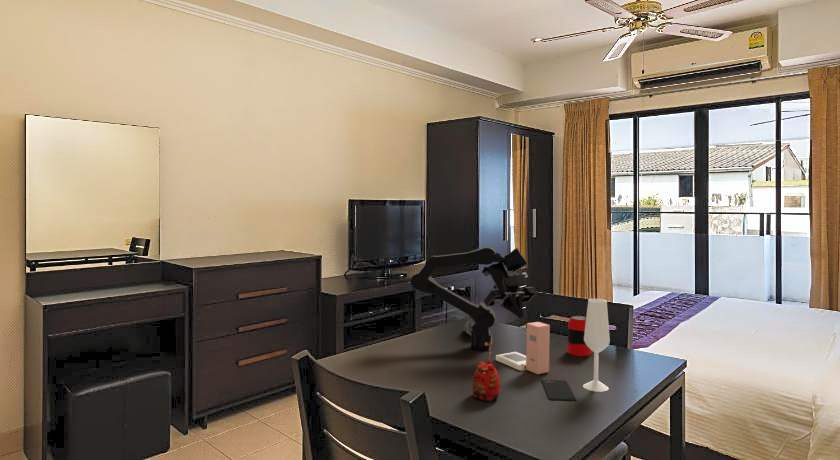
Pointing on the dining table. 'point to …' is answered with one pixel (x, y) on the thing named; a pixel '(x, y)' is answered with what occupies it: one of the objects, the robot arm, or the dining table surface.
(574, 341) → the soda can
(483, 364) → the red clay folk toy
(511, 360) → the pad
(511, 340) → the dining table surface
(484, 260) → the robot arm
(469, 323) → the mineral rock
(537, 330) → the block
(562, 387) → the smartphone
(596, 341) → the champagne flute
